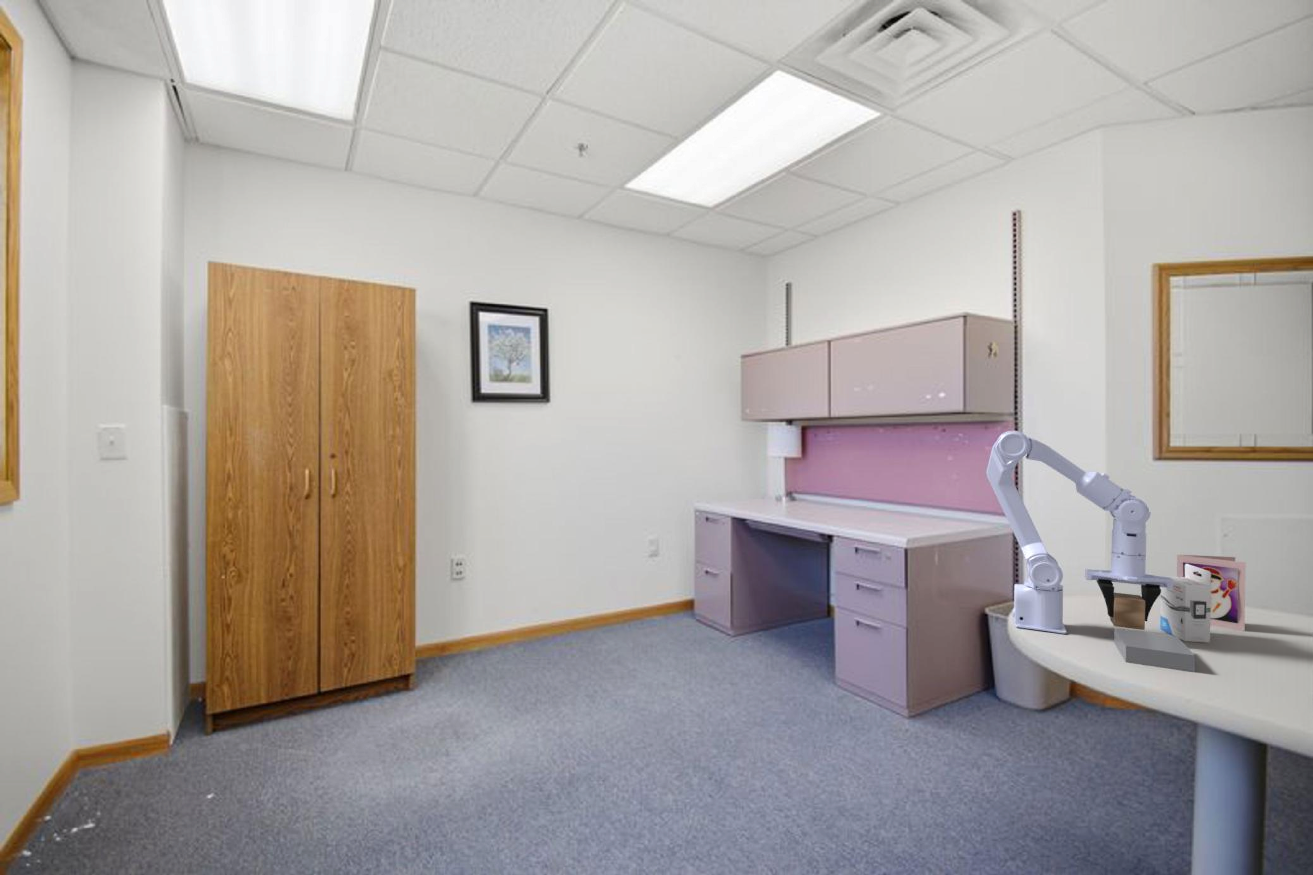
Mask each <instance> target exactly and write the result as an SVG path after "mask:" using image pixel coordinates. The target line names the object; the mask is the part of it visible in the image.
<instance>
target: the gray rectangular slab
mask: <svg viewBox="0 0 1313 875" xmlns="http://www.w3.org/2000/svg"><path fill="white" fill-rule="evenodd" d="M1113 629H1114V630H1113V636H1114V637H1113V643H1114V644H1115V646H1116V648H1117V650H1118V651H1119V653H1120V655H1121V657H1122V658H1123V660H1124V662H1125V663H1131V664H1137V665H1144V666H1153V667H1157V666H1159V667H1158V668H1165V669H1172V670H1178V671H1179V670H1180V671H1185V672H1192V673H1195V672H1196V655H1195V654H1194V653H1193V651H1192V650H1190V648H1189V647H1188V646H1187V645H1186V644H1185V643H1184V641H1183V640H1182V639H1180V638H1178V637H1177V636H1174V635H1172V634H1163V633H1155V632H1149V631H1148V632H1147V631H1142V630H1141V631H1140V630H1134V629H1133V630H1132V629H1125V628H1123V629H1122V628H1118V627H1114V628H1113Z"/></svg>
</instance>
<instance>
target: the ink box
mask: <svg viewBox="0 0 1313 875" xmlns="http://www.w3.org/2000/svg"><path fill="white" fill-rule="evenodd" d="M1197 571H1198V573H1200V574H1201V575H1202V577H1200V576H1197V575H1194V572H1197ZM1161 577H1170V578H1172V579H1173V589H1169V588H1166V587H1160V589H1161V593H1160V611H1159V612H1160V618H1159V621H1160V623H1159V625H1160V629H1161V630H1163V631H1165V632H1166V633H1168V634H1169V635H1172V636H1177V637H1178V638H1179V639H1180V640H1181V641H1182V642H1191V643H1192V642H1194V643H1195V642H1197V643H1208V644H1209V643H1211V625H1210V617H1211V573H1210V571H1207V570H1204V569H1201V568H1198V567H1195V566H1192V565H1189V564H1185V577H1177V576H1170V575H1169V576H1167V575H1165V576H1164V575H1161Z"/></svg>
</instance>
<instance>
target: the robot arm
mask: <svg viewBox="0 0 1313 875" xmlns="http://www.w3.org/2000/svg"><path fill="white" fill-rule="evenodd" d="M1024 457H1025V458H1026V460H1030V461H1036V462H1037V461H1038V462H1042V463H1043V464H1045V465H1046V466H1048V467H1049V468H1051V469H1052V470H1054V471H1056V472H1057V473H1059V474H1061V475H1063V477H1065V478H1067V479H1068V480H1070V481H1072V482H1073V483H1075V484H1074V485H1075V489H1076V492H1077V493H1078V494H1080V495H1081V496H1082V497H1084V498H1085V499H1087V500H1089V501H1090V502H1091V503H1093V504H1094V505H1096V506H1097V507H1099V508H1100V509H1101V510H1103V511H1104V512H1105V511H1107V512H1109V514H1110V515H1111V517H1113V519H1112V530H1111V553H1110V554H1111V557H1110V558H1111V559H1110V570H1106V569H1105V570H1103V569H1087V568H1085V575H1084V577H1085V579H1086V581H1096V583H1097V585H1098V586H1099V589H1100V591H1101V594H1102V596H1103V599H1104V601H1105V604H1106V605H1105V606H1106V609H1107V615H1108V617H1109V618H1110V617H1113V614H1114V609H1113V596H1114V593H1115V587H1114V583H1118V584H1120V583H1121V584H1127V585H1129V584H1130V585H1139V586H1140V591H1141V592H1140V594H1141V597H1142V598H1143V599H1144V600H1145V622H1148V618H1149V614H1150V612H1151V609H1152V608H1153V605H1154V604H1155V602H1156V600H1157V599H1158V598H1159V597H1160V596H1161V587H1166V588H1169V589H1173V579H1172V578H1170V577H1171V576H1170V577H1161V576H1162V575H1161V576H1159V575H1154V574H1146V564H1147V563H1146V562H1147V559H1146V557H1147V533H1146V530H1147V524H1146V522H1148V521H1149V519H1150V518H1151V512H1150V508H1149V507H1148V505H1147V503H1145V501H1143V500H1142V499H1139V498H1137V497H1136V496H1135V495H1132V494H1131V493H1132V491H1131V490H1129V489H1128V488H1125V489H1124V488H1122V487H1121V486H1119V484H1118V485H1117V484H1116V483H1115V482H1114V481H1112V480H1110V475H1108V474H1106V473H1105V472H1102V473H1099V472H1098V471H1084V470H1083V469H1082V468H1081V467H1079V466H1077V465H1076V464H1075V463H1073V462H1072V461H1070V460H1069V459H1067V457H1064V456H1063V455H1062V454H1060V453H1059V452H1057V451H1056V450H1055V449H1053V448H1052V447H1050V446H1048V445H1047V444H1045V443H1043V442H1041V441H1038V440H1036V439H1034V438H1032V437H1028V436H1027V435H1026V434H1025V433H1024V432H1021V431H1018V430H1008V431H1004V432H1003V433H1001V434H1000V435H999V437H998V438H997V439H996V440H995V442H994V444H993V445H992V447H991V452H990V456H989V460H988V465H987V467H986V478H987V479H988V481H989V484H990V486H991V488H992V490H993V492H994V494H995V496H996V498H997V501H998V503H999V505H1000V508H1001V509H1002V511H1003V514H1004V515H1005V518H1006V520H1007V521H1008V524H1009V526H1010V528H1011V530H1012V532H1013V534H1014V536H1015V538H1016V540H1017V543H1018V545H1019V548H1020V549H1021V551H1022V553H1023V556H1024V558H1025V562H1026V563H1025V564H1026V565H1025V566H1026V571H1027V573H1028V578H1027V579H1026V580H1024V583H1022V584H1020V583H1014V587H1013V588H1014V591H1013V595H1014V596H1013V599H1014V600H1013V608H1012V617H1013V621H1014V627H1016V628H1021V629H1022V628H1023V629H1029V630H1036V631H1043V632H1050V633H1058V634H1067V628H1066V626H1065V625H1064V621H1063V617H1064V616H1063V615H1064V614H1063V612H1064V585H1062V584H1061V583H1062V581H1063V578H1064V574H1063V570H1062V568H1061V567H1060V566H1059V564H1058V561H1057V560H1056V558H1054V557H1053V556H1052V555H1050V553H1049V552H1048V551H1047V549H1046V547H1045V545H1044V543H1043V541H1042V538H1041V536H1040V534H1039V533H1038V530H1037V528H1036V526H1035V524H1034V521H1033V519H1032V518H1031V516H1030V514H1029V511H1028V510H1027V507H1026V505H1025V504H1024V501H1023V498H1022V497H1021V495H1020V493H1019V491H1018V489H1017V487H1016V485H1015V483H1014V481H1013V478H1012V474H1013V472H1014V470H1015V468H1016V467H1017V464H1018V463H1019V462H1020V461H1021V460H1022V459H1023V458H1024Z"/></svg>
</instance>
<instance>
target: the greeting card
mask: <svg viewBox="0 0 1313 875" xmlns="http://www.w3.org/2000/svg"><path fill="white" fill-rule="evenodd" d="M1185 564H1189V565H1192V566H1195V567H1198V568H1201V569H1204V570H1207V571H1210V573H1211V617H1210V626H1213V627H1217V628H1218V627H1219V628H1225V629H1229V630H1236V631H1242V632H1245V631H1246V630H1245V627H1246V626H1245V625H1246V620H1245V616H1246V615H1245V614H1246V562H1243V561H1236V556H1217V555H1216V556H1215V555H1194V554H1192V555H1191V554H1177V555H1176V577H1185ZM1194 575H1197V576H1200V577H1202V575H1201V574H1200V573H1198V571H1197V572H1194Z"/></svg>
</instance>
